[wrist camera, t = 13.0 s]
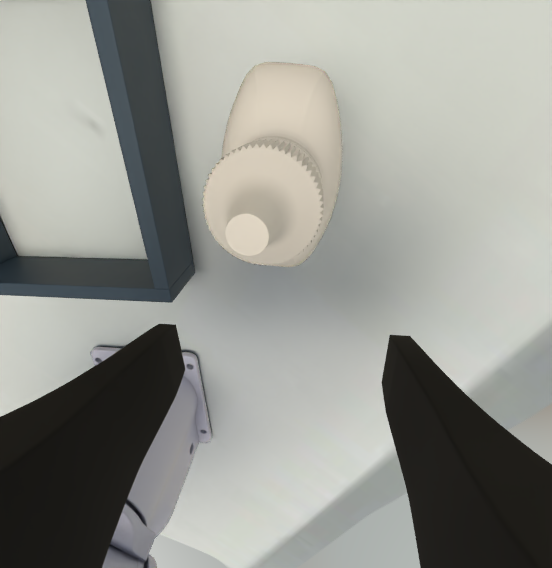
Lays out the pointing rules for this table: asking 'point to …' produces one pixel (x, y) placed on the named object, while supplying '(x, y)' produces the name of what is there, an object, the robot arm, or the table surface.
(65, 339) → the table surface
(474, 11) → the table surface
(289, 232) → the eye dropper bottle
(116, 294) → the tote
